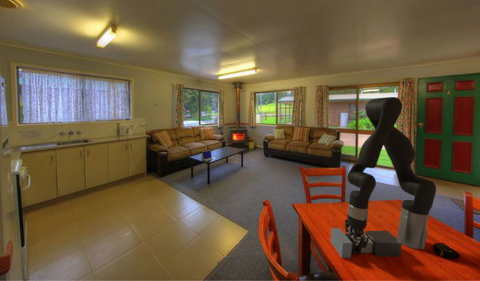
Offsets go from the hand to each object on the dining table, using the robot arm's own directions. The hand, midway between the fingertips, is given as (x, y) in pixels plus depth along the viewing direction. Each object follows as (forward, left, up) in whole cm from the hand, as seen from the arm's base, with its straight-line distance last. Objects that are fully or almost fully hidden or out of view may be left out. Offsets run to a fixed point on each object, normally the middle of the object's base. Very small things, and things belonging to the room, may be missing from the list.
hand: (353, 247), depth 83 cm
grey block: (+5, +3, -1) cm, 6 cm away
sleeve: (-10, -7, -1) cm, 13 cm away
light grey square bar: (-3, -2, -1) cm, 4 cm away
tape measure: (-33, -20, -1) cm, 39 cm away
